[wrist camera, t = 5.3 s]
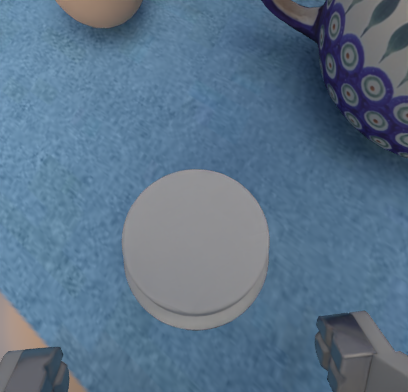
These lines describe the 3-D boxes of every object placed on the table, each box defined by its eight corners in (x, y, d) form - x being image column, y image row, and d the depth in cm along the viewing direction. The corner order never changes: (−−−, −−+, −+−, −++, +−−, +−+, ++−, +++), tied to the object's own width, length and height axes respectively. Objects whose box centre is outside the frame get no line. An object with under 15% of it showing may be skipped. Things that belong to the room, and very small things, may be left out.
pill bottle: (252, 235, 21) (295, 168, 12) (240, 336, 19) (279, 352, 10) (159, 220, 21) (127, 141, 12) (137, 317, 19) (80, 316, 10)
